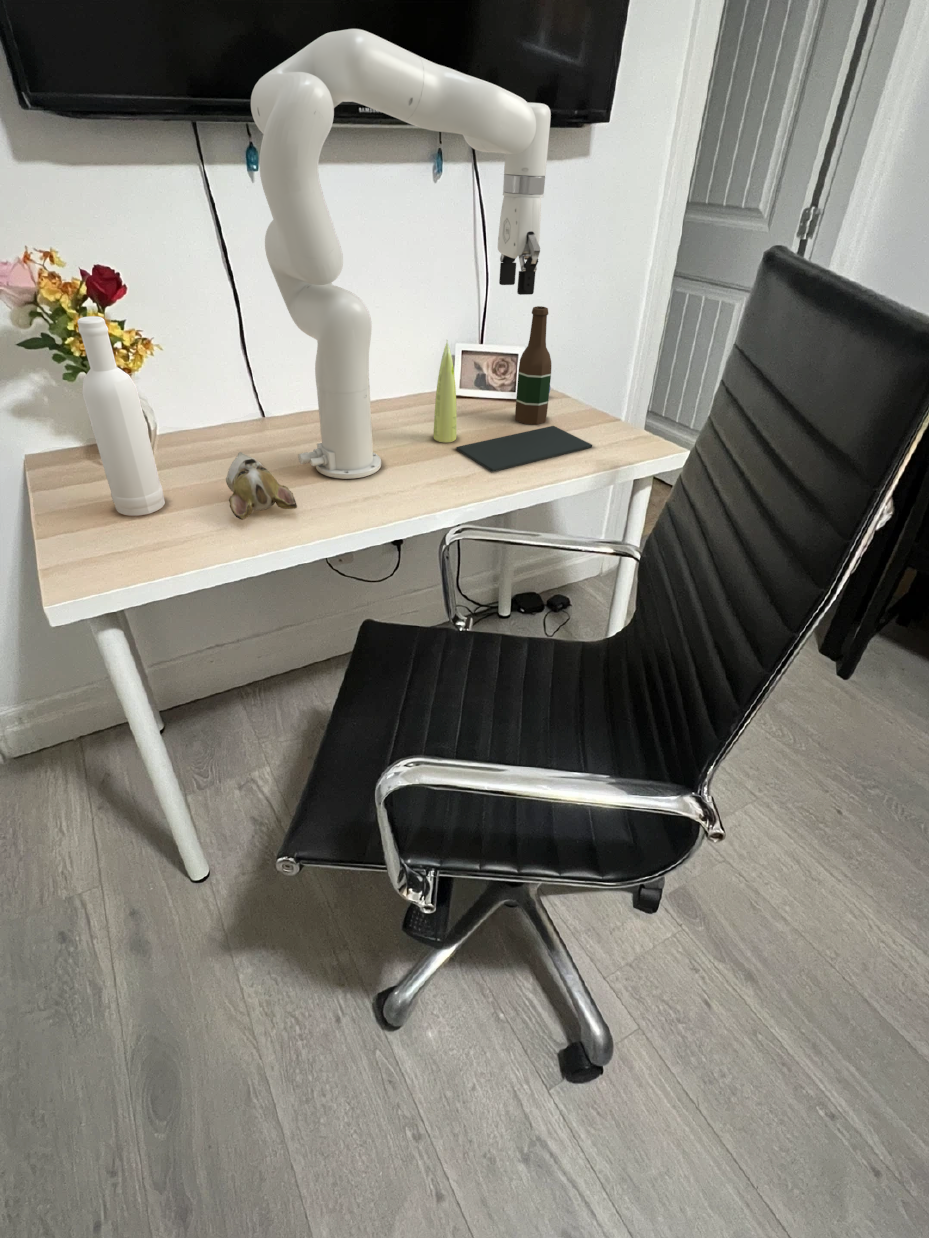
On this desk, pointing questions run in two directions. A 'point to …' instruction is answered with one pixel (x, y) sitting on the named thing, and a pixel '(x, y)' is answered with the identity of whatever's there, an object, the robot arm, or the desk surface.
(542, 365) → the beer bottle
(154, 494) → the bottle
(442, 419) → the tube
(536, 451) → the mat
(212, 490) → the desk surface
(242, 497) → the ceramic sculpture
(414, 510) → the desk surface
